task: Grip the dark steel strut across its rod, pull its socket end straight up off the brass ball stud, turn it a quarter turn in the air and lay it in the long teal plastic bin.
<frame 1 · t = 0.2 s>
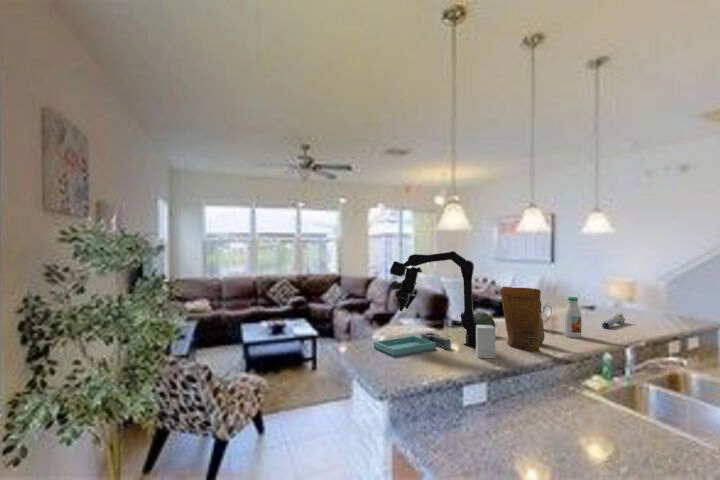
hand: (403, 309, 207), 15 cm above the worktop, tool pointing down, fingers open, 9 cm apart
bin: (404, 348, 191), on the worktop
glass holder: (538, 329, 230), on the worktop
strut: (440, 346, 195), on the worktop
ball stud: (430, 342, 202), on the worktop
milk bottle: (572, 336, 213), on the worktop
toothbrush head: (613, 326, 238), on the worktop
vegetable: (481, 334, 220), on the worktop
supplement box: (485, 356, 179), on the worktop
pancake mix bag: (521, 348, 191), on the worktop
squeeze bottle: (535, 344, 198), on the worktop
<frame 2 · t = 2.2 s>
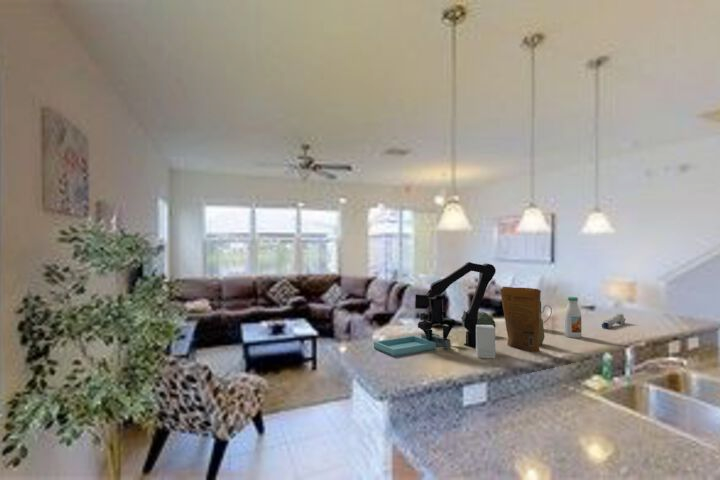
hand: (437, 341, 198), 1 cm above the worktop, tool pointing down, fingers open, 9 cm apart
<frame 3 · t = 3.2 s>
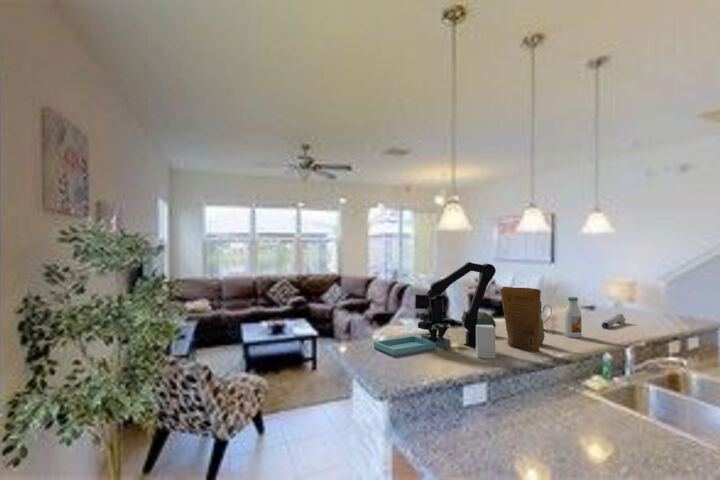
hand: (437, 342, 198), 1 cm above the worktop, tool pointing down, fingers closed on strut, 3 cm apart
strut: (440, 346, 195), on the worktop, touching gripper
everything else where it was.
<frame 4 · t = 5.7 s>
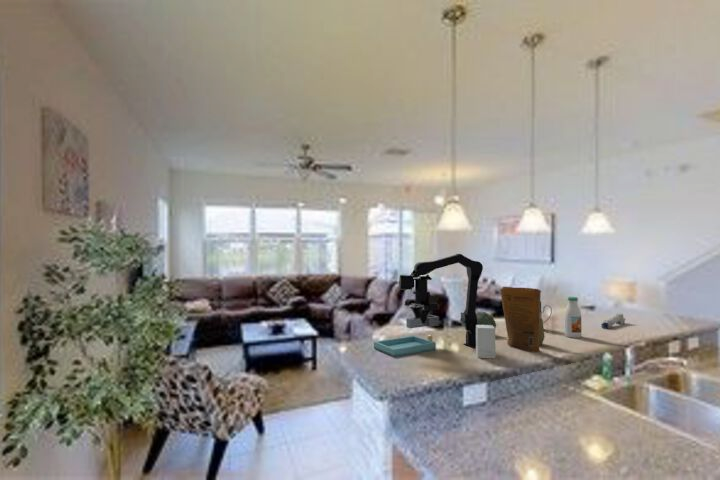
hand: (421, 323, 195), 11 cm above the worktop, tool pointing down, fingers closed on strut, 3 cm apart
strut: (417, 326, 194), point 10 cm above the worktop, touching gripper
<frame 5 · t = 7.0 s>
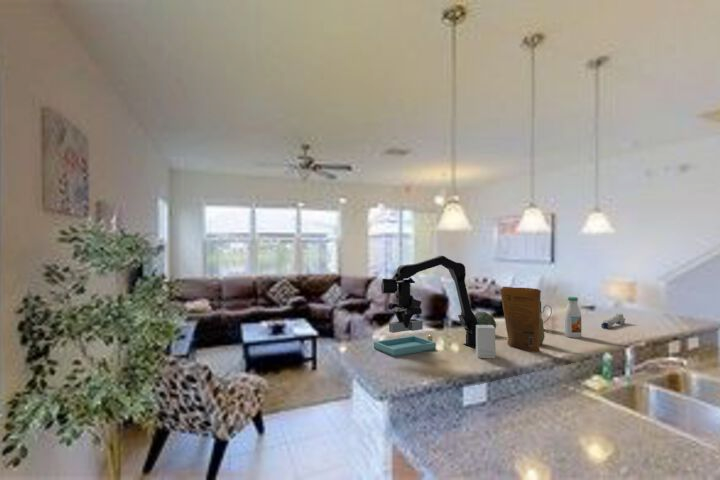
hand: (404, 327, 191), 10 cm above the worktop, tool pointing down, fingers closed on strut, 3 cm apart
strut: (400, 330, 190), point 8 cm above the worktop, touching gripper
when the fingers open (3 cm above the worktop, at t = 8.3 s): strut drops 1 cm, resting on bin.
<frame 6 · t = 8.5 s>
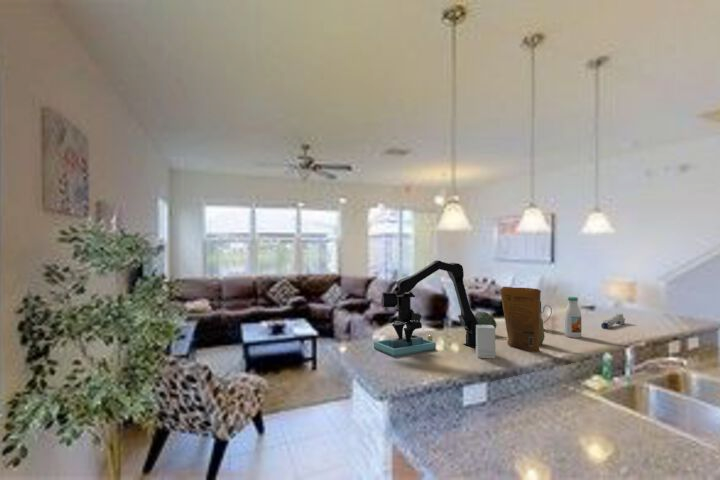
hand: (404, 341, 191), 3 cm above the worktop, tool pointing down, fingers open, 5 cm apart
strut: (400, 347, 190), point 1 cm above the worktop, touching bin
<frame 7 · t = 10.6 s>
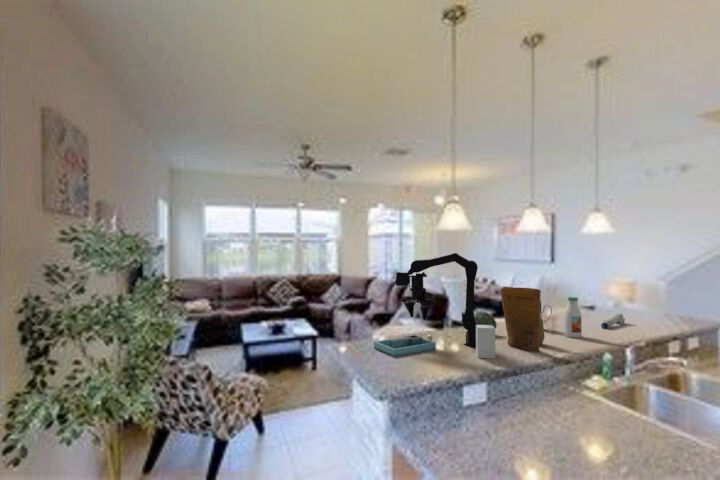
hand: (418, 318, 202), 12 cm above the worktop, tool pointing down, fingers open, 9 cm apart
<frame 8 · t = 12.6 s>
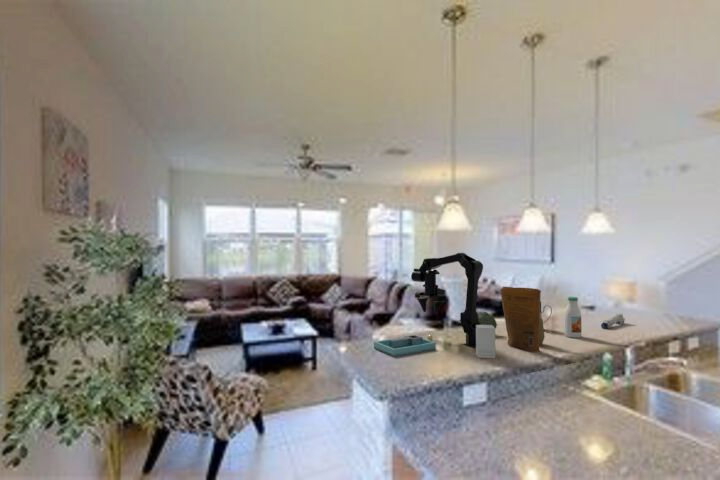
hand: (430, 313, 214), 12 cm above the worktop, tool pointing down, fingers open, 9 cm apart
at the end: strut inside the target area on the bin (2.5 cm from its centre), point 0.8 cm above the bin's base; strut touching bin; the gripper is holding nothing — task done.
